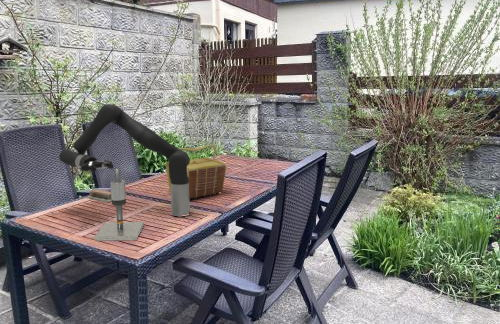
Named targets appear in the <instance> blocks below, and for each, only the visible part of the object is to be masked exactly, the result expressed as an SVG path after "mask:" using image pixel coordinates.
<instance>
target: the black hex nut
mask: <svg viewBox="0 0 500 324" xmlns="http://www.w3.org/2000/svg"><path fill="white" fill-rule="evenodd" d="M126 203H127V198H125V200H120V201H114V200H112V202H111V205H112V206H115V207H116V206H121V205H122V206H124V205H126Z"/></svg>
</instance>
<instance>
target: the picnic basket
mask: <svg viewBox="0 0 500 324" xmlns="http://www.w3.org/2000/svg"><path fill="white" fill-rule="evenodd" d="M209 147H213V155H212V158H209V157H206V156H205V157H204V156H203V157H201V158H190V163H189V165H188V166H187V176H188V178H189V196H190V200H192V199H191V198H194V199H196V198H195V197H199V198H201V197H200V196H204V197H206V196H205V195H209V196H211V195H210V194H214V195H216V194H215V193H219V192H222V193H223V190H224V184H225V177H226V171H227V164H226V163H225V162H224V161H220V160H217V159H216V151H217V150H216V149H217V148H216V145H214V144H207V145H206V144H205V145H203V146H199V147H197V148H196V147H195V148H190V147H180V148H179V147H178V148H179V149H180V150H182V151H188V152H197V151H201V150H204V149H206V148H209ZM165 170H166V177H167V181H168V182H167V183H168V187H169V192H170V193H171V180H170V177H169V161H168V162H167V161H166V163H165Z"/></svg>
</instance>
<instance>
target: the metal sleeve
mask: <svg viewBox="0 0 500 324" xmlns="http://www.w3.org/2000/svg"><path fill="white" fill-rule="evenodd" d="M110 192H111V199H112V200H114V201H120V200H125V199H127V196H126V181H125V180H124V179H121V182H119V183H115V179H114V180H112V181H110Z"/></svg>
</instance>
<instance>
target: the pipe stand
mask: <svg viewBox="0 0 500 324" xmlns="http://www.w3.org/2000/svg"><path fill="white" fill-rule="evenodd" d="M113 174H114V175H113V176H114V180H115V183H119V182H121V180H122V178H121V175H122V174H121V168H113ZM115 209H116V221H115V222H114V221H113V222H105V223H104V224H103V225H102V227H101V228H100V229H99V230H98V232H97V233H96V234H95V235H94V241H95V242H98V241H99V242H102V241H104V242H107V241H108V242H109V241H114V242H116V241H137V240H138V239H137V238H139V237H140V235H141V233H140V232H142V231H141V230H143V229H144V227H145V222H144V221H124V217H123V215H124V214H123V205H121V206H115ZM143 226H144V227H143ZM142 228H143V229H142ZM139 234H140V235H139ZM138 236H139V237H138Z"/></svg>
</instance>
